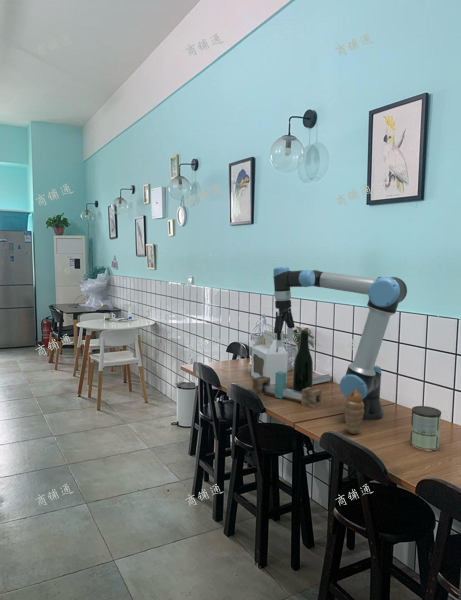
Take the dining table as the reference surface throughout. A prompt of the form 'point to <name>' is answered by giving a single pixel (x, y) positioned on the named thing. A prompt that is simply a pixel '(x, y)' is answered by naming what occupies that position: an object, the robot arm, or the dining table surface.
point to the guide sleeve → (311, 397)
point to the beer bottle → (303, 365)
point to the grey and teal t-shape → (281, 387)
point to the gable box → (268, 357)
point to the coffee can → (425, 427)
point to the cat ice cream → (354, 411)
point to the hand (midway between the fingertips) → (285, 344)
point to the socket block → (260, 385)
